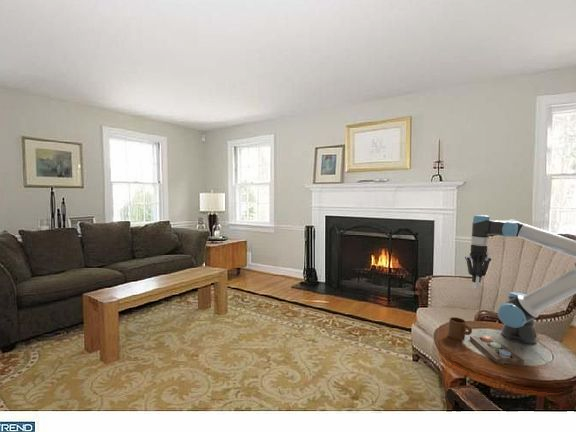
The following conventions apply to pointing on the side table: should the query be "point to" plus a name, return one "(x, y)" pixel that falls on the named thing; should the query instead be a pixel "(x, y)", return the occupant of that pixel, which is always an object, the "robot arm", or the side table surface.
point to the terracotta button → (486, 339)
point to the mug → (458, 329)
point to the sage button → (495, 346)
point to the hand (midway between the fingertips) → (475, 288)
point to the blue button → (504, 353)
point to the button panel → (496, 351)
